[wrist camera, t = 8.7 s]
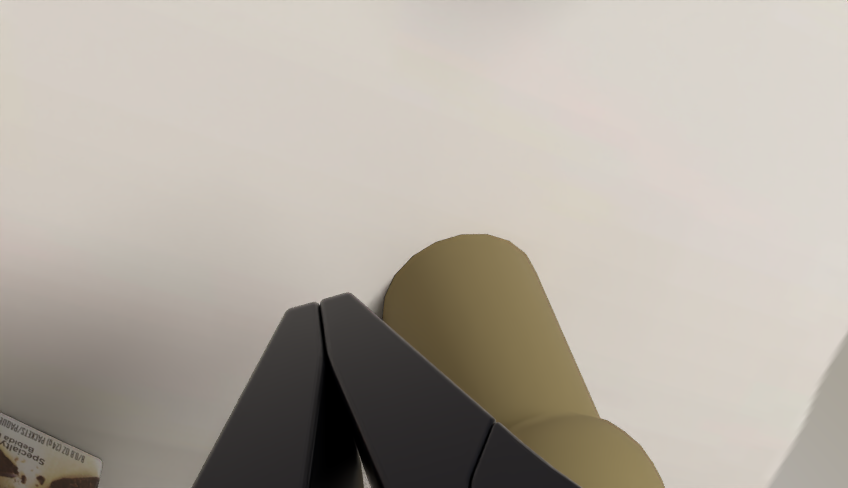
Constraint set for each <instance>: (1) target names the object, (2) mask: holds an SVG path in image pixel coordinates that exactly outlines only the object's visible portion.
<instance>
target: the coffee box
mask: <svg viewBox="0 0 848 488" xmlns="http://www.w3.org/2000/svg"><path fill="white" fill-rule="evenodd" d="M102 467H103V463H102V461H101V459H99V458H97V457H95V456H92V455H90V454H88V453H86V452H84V451H82V450H79V449H77V448H75V447H73V446H71V445H69V444H66V443H64V442H62V441H60V440H58V439H55V438H53V437H51V436H49V435H47V434H45V433H43V432H41V431H38V430H36V429H34V428H32V427H30V426H28V425H26V424H24V423H22V422H19V421H17V420H15V419H13V418H11V417H9V416H7V415H5V414H2V413H0V488H98V484H99V480H100V476H101V472H102Z"/></svg>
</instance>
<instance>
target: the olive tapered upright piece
mask: <svg viewBox="0 0 848 488" xmlns="http://www.w3.org/2000/svg"><path fill="white" fill-rule="evenodd" d="M382 318H383V321H384V322H385V323H386V324H387V325H388V326H390V327H391V328H392V329H393V330H394V331H395V332H396V333H398V334H399V335H400V336H401V337H402V338H403V339H404V340H406V341H407V342H408V343H409V344H410V345H411V346H412V347H414V348H415V349H416V350H417V351H418V352H419V353H420V354H422V355H423V356H424V357H425V358H426V359H427V360H428V361H430V362H431V363H432V364H433V365H434V366H435V367H436V368H438V369H439V370H440V371H441V372H442V373H443V374H445V375H446V376H447V377H448V378H449V379H450V380H451V381H453V382H454V383H455V384H456V385H457V386H458V387H459V388H461V389H462V390H463V391H464V392H465V393H466V394H467V395H469V396H470V397H471V398H472V399H473V400H474V401H475V402H477V403H478V404H479V405H480V406H481V407H482V408H483V409H485V410H486V411H487V412H488V413H489V414H490V415H491V416H493V417H494V418H495V420H496V422H500V423H501V424H502V425H503V426H505V427H506V428H507V429H508V430H509V431H510V432H511V433H513V434H514V435H515V436H516V437H517V438H518V439H519V440H521V441H522V442H523V443H524V444H525V445H527V446H528V447H529V448H530V449H532V450H533V451H534V452H535V453H537V454H538V455H539V456H540V457H542V458H543V459H544V460H545V461H546V462H548V463H549V464H550V465H551V466H553V467H554V468H555V469H557V470H558V471H560V472H561V473H562V474H564V475H565V476H567V477H568V478H569V479H571V480H572V481H574V482H575V483H577V484H578V485H579V486H581V487H582V488H665V487H664V484H663V481H662V479H661V477H660V475H659V473H658V471H657V470H656V468H655V466H654V464H653V462H652V461H651V460H650V458H649V457H648V455H647V454H646V452H645V451H644V450H643V448H642V447H641V445H640V444H638V443H637V442H636V441H635V440H634V439H633V438H631V437H630V436H629V435H628V434H627V433H626V432H625V431H623V430H622V429H620V428H618V427H617V426H615V425H614V424H612V423H611V422H609V421H607V420H604V419H601V418H600V417H599V414H598V412H597V410H596V407H595V405H594V403H593V401H592V398H591V396H590V394H589V392H588V389H587V387H586V385H585V382H584V380H583V378H582V376H581V373H580V371H579V369H578V366H577V364H576V362H575V360H574V357H573V355H572V353H571V351H570V348H569V346H568V344H567V341H566V339H565V337H564V335H563V332H562V330H561V328H560V326H559V323H558V321H557V319H556V316H555V314H554V312H553V310H552V307H551V305H550V303H549V300H548V298H547V296H546V294H545V291H544V289H543V287H542V285H541V282H540V280H539V278H538V275H537V273H536V271H535V269H534V267H533V266H532V264H531V262H530V260H529V258H528V257H527V255H526V254H525V253H524V252H523V251H521V250H520V249H519V248H518V247H516V246H515V245H514V244H512V243H511V242H510V241H507V240H504V239H501V238H498V237H494V236H491V235H488V234H466V235H459V236H455V237H452V238H448V239H445V240H442V241H438V242H435V243H434V244H432V245H431V246H429V247H427V248H426V249H424V250H422V251H421V252H419V253H417V254H416V255H414V256H413V257H412V258H411V259H410V260H409V261H408V262H407V263H406V264H405V265H404V266H403V267H402V268H401V269H400V271H399V272H398V273H397V274H396V275H395V277H394V279H393V281H392V283H391V285H390V287H389V289H388V291H387V293H386V295H385V300H384V308H383V317H382Z"/></svg>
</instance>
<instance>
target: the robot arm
mask: <svg viewBox="0 0 848 488" xmlns="http://www.w3.org/2000/svg"><path fill="white" fill-rule="evenodd" d="M359 455H360V457H359ZM360 458H361V461H362V464H363V466H364V469H365V472H366V475H367V478H368V481H369V484H370V486H371V488H582V487H581V486H579V485H578V484H577V483H575V482H574V481H572V480H571V479H569V478H568V477H567V476H565V475H564V474H562V473H561V472H560V471H558V470H557V469H555V468H554V467H553V466H551V465H550V464H549V463H548V462H546V461H545V460H544V459H543V458H542V457H540V456H539V455H538V454H537V453H535V452H534V451H533V450H532V449H530V448H529V447H528V446H527V445H525V444H524V443H523V442H522V441H521V440H519V439H518V438H517V437H516V436H515V435H514V434H513V433H511V432H510V431H509V430H508V429H507V428H506V427H505V426H503V425H502V424H501V423H500V422H496V420H495V418H494V417H493V416H491V415H490V414H489V413H488V412H487V411H486V410H485V409H483V408H482V407H481V406H480V405H479V404H478V403H477V402H475V401H474V400H473V399H472V398H471V397H470V396H469V395H467V394H466V393H465V392H464V391H463V390H462V389H461V388H459V387H458V386H457V385H456V384H455V383H454V382H453V381H451V380H450V379H449V378H448V377H447V376H446V375H445V374H443V373H442V372H441V371H440V370H439V369H438V368H436V367H435V366H434V365H433V364H432V363H431V362H430V361H428V360H427V359H426V358H425V357H424V356H423V355H422V354H420V353H419V352H418V351H417V350H416V349H415V348H414V347H412V346H411V345H410V344H409V343H408V342H407V341H406V340H404V339H403V338H402V337H401V336H400V335H399V334H398V333H396V332H395V331H394V330H393V329H392V328H391V327H390V326H388V325H387V324H386V323H385V322H384V321H383V320H381V319H380V318H379V317H378V316H377V315H376V314H375V313H373V312H372V311H371V310H370V309H369V308H368V307H367V306H365V305H364V304H363V303H362V302H361V301H360V300H359V299H357V298H356V297H355V296H354V295H353V294H351V293H343V294H340V295H336V296H333V297H329V298H326V299H323V300H322V301H321V303H320V305H319V304H318V303H316V302H312V303H308V304H304V305H301V306H297V307H294V308H290V309H288V310H287V311H286V312H285V314H284V316H283V318H282V320H281V321H280V323H279V325H278V327H277V329H276V331H275V333H274V335H273V336H272V338H271V340H270V342H269V344H268V346H267V348H266V350H265V351H264V353H263V355H262V357H261V359H260V361H259V363H258V364H257V366H256V368H255V370H254V372H253V374H252V376H251V378H250V379H249V381H248V383H247V385H246V387H245V389H244V391H243V393H242V394H241V396H240V398H239V400H238V402H237V404H236V406H235V407H234V409H233V411H232V413H231V415H230V417H229V419H228V421H227V422H226V424H225V426H224V428H223V430H222V432H221V434H220V436H219V437H218V439H217V441H216V443H215V445H214V447H213V449H212V450H211V452H210V454H209V456H208V458H207V460H206V462H205V464H204V465H203V467H202V469H201V471H200V473H199V475H198V477H197V479H196V480H195V482H194V484H193V486H192V488H364V485H363V476H362V468H361V462H360Z"/></svg>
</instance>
